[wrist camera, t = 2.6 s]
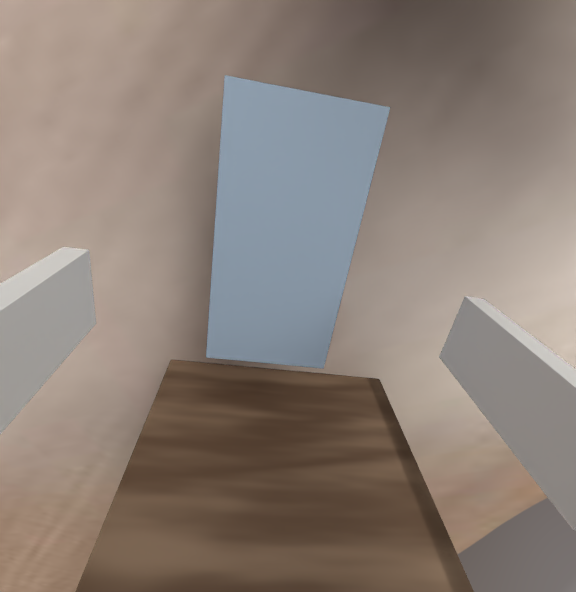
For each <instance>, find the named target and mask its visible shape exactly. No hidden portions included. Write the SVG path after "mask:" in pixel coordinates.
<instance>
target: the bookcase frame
mask: <svg viewBox="0 0 576 592" xmlns="http://www.w3.org/2000/svg"><path fill="white" fill-rule="evenodd" d="M76 592H474V591H473V589H472V587H471V584H470V582H469V580H468V578H467V575H466V573H465V571H464V569H463V566H462V564H461V562H460V560H459V557H458V555H457V553H456V551H455V548H454V546H453V544H452V542H451V539H450V537H449V535H448V533H447V530H446V528H445V526H444V524H443V521H442V519H441V517H440V515H439V512H438V510H437V508H436V506H435V503H434V501H433V499H432V497H431V494H430V492H429V490H428V488H427V485H426V483H425V481H424V479H423V476H422V474H421V472H420V470H419V467H418V465H417V463H416V461H415V458H414V456H413V454H412V452H411V449H410V447H409V445H408V443H407V440H406V438H405V436H404V434H403V431H402V429H401V427H400V425H399V422H398V420H397V418H396V416H395V413H394V411H393V409H392V407H391V404H390V402H389V400H388V398H387V395H386V393H385V391H384V389H383V386H382V384H381V382H380V380H379V379H373V378H363V377H352V376H341V375H330V374H319V373H309V372H298V371H287V370H276V369H265V368H255V367H244V366H233V365H222V364H211V363H201V362H190V361H179V360H171V361H170V363H169V366H168V368H167V371H166V373H165V375H164V378H163V380H162V383H161V385H160V388H159V390H158V393H157V395H156V397H155V400H154V402H153V405H152V407H151V410H150V412H149V414H148V417H147V419H146V422H145V424H144V427H143V429H142V431H141V434H140V436H139V439H138V441H137V444H136V446H135V448H134V451H133V453H132V456H131V458H130V461H129V463H128V465H127V468H126V470H125V473H124V475H123V478H122V480H121V482H120V485H119V487H118V490H117V492H116V495H115V497H114V499H113V502H112V504H111V507H110V509H109V512H108V514H107V516H106V519H105V521H104V524H103V526H102V529H101V531H100V533H99V536H98V538H97V541H96V543H95V546H94V548H93V550H92V553H91V555H90V558H89V560H88V563H87V565H86V567H85V570H84V572H83V575H82V577H81V580H80V582H79V584H78V587H77V589H76Z"/></svg>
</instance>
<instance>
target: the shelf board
mask: <svg viewBox="0 0 576 592" xmlns="http://www.w3.org/2000/svg"><path fill="white" fill-rule="evenodd" d="M389 111H390V107H386V106H381V105H376V104H371V103H366V102H360V101H355V100H350V99H345V98H340V97H335V96H329V95H324V94H319V93H314V92H309V91H304V90H298V89H293V88H288V87H283V86H278V85H273V84H267V83H262V82H257V81H252V80H247V79H242V78H236V77H231V76H226V75H225V80H224V95H223V110H222V125H221V140H220V155H219V170H218V185H217V200H216V215H215V230H214V245H213V260H212V275H211V290H210V305H209V320H208V335H207V350H206V357H207V358H217V359H228V360H239V361H249V362H260V363H270V364H281V365H292V366H302V367H313V368H323V369H324V365H325V361H326V357H327V353H328V349H329V345H330V341H331V337H332V333H333V330H334V326H335V322H336V318H337V314H338V310H339V306H340V302H341V298H342V294H343V291H344V287H345V283H346V279H347V275H348V271H349V267H350V263H351V259H352V255H353V251H354V248H355V244H356V240H357V236H358V232H359V228H360V224H361V220H362V216H363V212H364V208H365V205H366V201H367V197H368V193H369V189H370V185H371V181H372V177H373V173H374V169H375V165H376V162H377V158H378V154H379V150H380V146H381V142H382V138H383V134H384V130H385V126H386V122H387V119H388V115H389Z"/></svg>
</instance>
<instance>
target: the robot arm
mask: <svg viewBox="0 0 576 592" xmlns="http://www.w3.org/2000/svg"><path fill="white" fill-rule="evenodd" d="M95 324H96V316H95V306H94V295H93V285H92V274H91V264H90V253H89V250H87V249H79V248H71V247H62V248H60V249H59V250H57V251H55V252H54V253H52V254H50V255H49V256H47V257H45V258H43V259H42V260H40V261H38V262H37V263H35V264H33V265H31V266H30V267H28V268H26V269H25V270H23V271H21V272H20V273H18V274H16V275H14V276H13V277H11V278H9V279H8V280H6V281H4V282H2V283H1V284H0V434H1V433H2V432H3V431H4V430H5V429H6V427H7V426H8V425H9V424H10V423H11V422H12V420H13V419H14V418H15V417H16V416H17V415H18V413H19V412H20V411H21V410H22V409H23V408H24V407H25V405H26V404H27V403H28V402H29V401H30V400H31V398H32V397H33V396H34V395H35V394H36V393H37V391H38V390H39V389H40V388H41V387H42V386H43V384H44V383H45V382H46V381H47V380H48V379H49V378H50V376H51V375H52V374H53V373H54V372H55V371H56V369H57V368H58V367H59V366H60V365H61V364H62V362H63V361H64V360H65V359H66V358H67V357H68V356H69V354H70V353H71V352H72V351H73V350H74V349H75V347H76V346H77V345H78V344H79V343H80V342H81V340H82V339H83V338H84V337H85V336H86V335H87V333H88V332H89V331H90V330H91V329H92V328H93V327H94V325H95ZM439 357H440V359H441V360H442V361H443V363H444V364H445V365H446V367H447V368H448V369H449V370H450V372H451V373H452V374H453V376H454V377H455V378H456V379H457V381H458V382H459V383H460V385H461V386H462V387H463V388H464V390H465V391H466V392H467V394H468V395H469V396H470V398H471V399H472V400H473V401H474V403H475V404H476V405H477V407H478V408H479V409H480V410H481V412H482V413H483V414H484V416H485V417H486V418H487V420H488V421H489V422H490V423H491V425H492V426H493V427H494V429H495V430H496V431H497V432H498V434H499V435H500V436H501V438H502V439H503V440H504V442H505V443H506V444H507V445H508V447H509V448H510V449H511V451H512V452H513V453H514V454H515V456H516V457H517V458H518V460H519V461H520V462H521V463H522V465H523V466H524V467H525V469H526V470H527V471H528V473H529V474H530V475H531V476H532V478H533V479H534V480H535V482H536V483H537V484H538V485H539V487H540V488H541V489H542V491H543V492H544V493H545V495H546V496H547V497H548V498H549V500H550V501H551V502H552V504H553V505H554V506H555V507H556V509H557V510H558V511H559V513H560V514H561V515H562V516H563V518H564V519H565V520H566V522H567V523H568V524H569V526H570V527H571V528H572V529H573V530H576V369H575V368H574V367H572V366H571V365H570V364H569V363H567V362H566V361H565V360H563V359H562V358H561V357H559V356H558V355H557V354H555V353H554V352H553V351H552V350H550V349H549V348H548V347H546V346H545V345H544V344H542V343H541V342H540V341H539V340H537V339H536V338H535V337H533V336H532V335H531V334H529V333H528V332H527V331H525V330H524V329H523V328H522V327H520V326H519V325H518V324H516V323H515V322H514V321H512V320H511V319H510V318H509V317H507V316H506V315H505V314H503V313H502V312H501V311H499V310H498V309H497V308H495V307H494V306H493V305H492V304H490V303H489V302H488V301H486V300H485V299H483V298H475V297H467V296H465V297H464V300H463V302H462V304H461V307H460V309H459V311H458V314H457V316H456V318H455V321H454V323H453V326H452V328H451V330H450V333H449V335H448V337H447V340H446V342H445V344H444V347H443V349H442V351H441V354H440V356H439Z"/></svg>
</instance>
